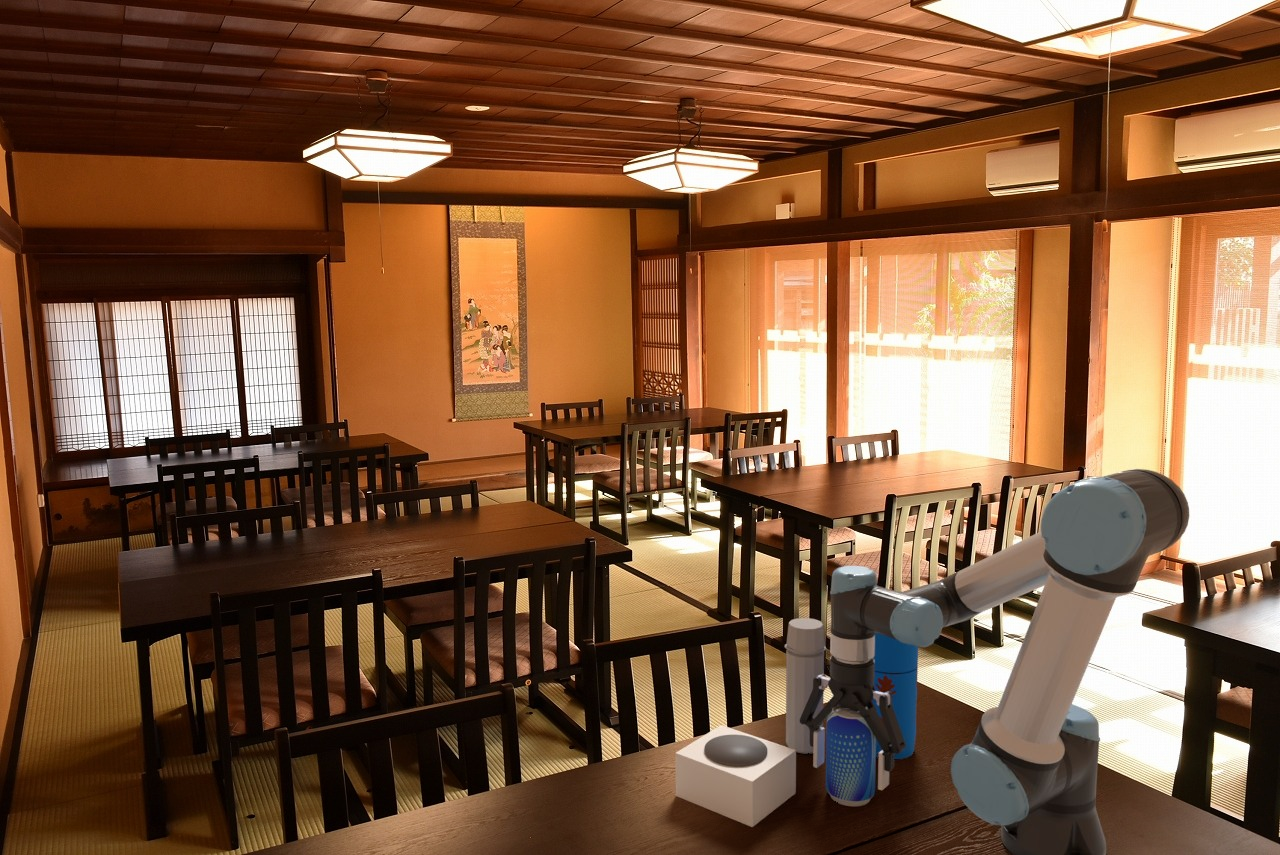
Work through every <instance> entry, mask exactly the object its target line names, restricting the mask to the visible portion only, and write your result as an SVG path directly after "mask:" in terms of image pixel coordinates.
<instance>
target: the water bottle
mask: <svg viewBox="0 0 1280 855" xmlns="http://www.w3.org/2000/svg"><path fill="white" fill-rule="evenodd" d="M824 629H825V628H824V624H823V622H822V621H821V620H818V619H815V618H809V617H801V618H794V619H791V620H790V621H789V622H788V627H787V636H786V644H784V648H785V649H786V651H785V653H786V654H785V655H786V656H785V658H786V659H785V660H786V662H785V668H786V671H785V672H786V675H785V677H786V678H785V680H786V683H785V692H786V693H785V744H786V745H787V747H788V748H791V749H794V750H796V753H800V754H804V755H805V754H806V755H807V754H808V753H809V754H813V747H812V746H810V743H809V742H810V730H809V728H808V726H806V725H805V724H804V725H803V724H801V723H800V717H801V715H802V713H803V711H804V708H805V706H806V704H807V701H808V699H809V697H810V694H811V692H812V690H813V679H814V678H815V677H817V676H818V675H820V674H825V673H824V672H825V670H824V669H825V664H824V663H825V651H826V650H827V647H826V642H825V631H824ZM824 693H825V691H824V692H823V695H822V697H821V699H820V701H819V704H818V706H817V708H816V710H815V713H814V715H813V717H812V718H815V717H816V716H817V715H818V714H819V713H820V711H821V710H822V709H823V708H824ZM820 727H823V728H824V722H823V723H822V725H820V726H819V728H820ZM809 754H808V755H809Z"/></svg>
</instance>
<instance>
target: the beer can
mask: <svg viewBox="0 0 1280 855" xmlns="http://www.w3.org/2000/svg"><path fill="white" fill-rule="evenodd" d="M865 708H866V710H867V709H868V708H867V706H866V707H865ZM825 734H826V735H825V738H826V740H825V744H826V746H825V748H826V750H825V752H826V753H825V759H826V760H825V789H826V791H827V793H828V794H829V795H830V798H831V799H832V800H833V801H834V802H835V801H836V803H837V802H838V804H839V805H842V806H846V807H861V806H865V805H867V804H868V803H869V802H870V801H871V799H872V798H873V797H874V795H875V794H876V760H877V758H876V738H875V736H874V734H873V732H872V731H871V729H870V727H869V725H868V724H867V722H866V720H865V718H863V717H862V716H861V715H860V713H859V711H858V712H855V711H852V710H851V709H849V708H841V706H840V705H839V704H838V705H837V706H835V707H834V708H832V712H831V713H830V714H829V716H828V717H827V718H826V731H825Z"/></svg>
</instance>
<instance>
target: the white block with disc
mask: <svg viewBox="0 0 1280 855" xmlns="http://www.w3.org/2000/svg"><path fill="white" fill-rule="evenodd" d="M796 781H797V752H796V750H794V749H791V748H789V747H788V746H785V745H782V744H780V743H779V744H778V743H777V742H772V741H769V740H767V739H764V738H762V737H758V736H755V735H752V734H750V733H746V732H743V731H740V730H737V729H734V728H732V727H728V726H725V725H722V724H721V725H719V726H717V727H716V728H714V729H712V730H710V731H709V732H707V733H706V734H704V735H702V736H701V737H699V738H697V739H696V740H694V741H693V742H691V743H690V744H688V745H686V746H684V747H683V748H681V749H680V750H677V751H676V752H675V796H676V797H678V798H680V799H683V800H685V801H687V802H689V803H692V804H695V805H697V806H700V807H702V808H704V809H706V810H710V811H712V812H715V813H716V814H719V815H721V816H724V817H726V818H729V819H731V820H734V821H735V822H739V823H741V824H743V825H746V826H748V827H751V828H753V827H755V826H756V825H757V824H759V823H760V822H761V821H762V820H763V819H765V818H766V817H767V816H769V814H771V813H772V812H774V810H776V809H777V808H779V807H780V806H782V804H784V803H785V802H786V801H787V800H788V799H790V798H792V796H794V795H796V792H797V790H796V789H797V788H796V787H797V782H796Z"/></svg>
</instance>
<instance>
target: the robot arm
mask: <svg viewBox="0 0 1280 855" xmlns="http://www.w3.org/2000/svg"><path fill="white" fill-rule="evenodd" d="M1189 520H1190V507H1189V502H1188V499H1187V497H1186V495H1185V493H1184V492H1183V490H1182V488H1180V486H1179V485H1177V483H1176V482H1174V481H1173V480H1172V479H1171V478H1170V477H1168V476H1166V475H1164V474H1162V473H1160V472H1157V471H1154V470H1150V469H1144V468H1136V469H1127V470H1123V471H1120V472H1116V473H1111V474H1107V475H1103V476H1092V477H1091V476H1090V477H1086V478H1083V479H1080V480H1077V481H1075V482H1073V483H1071V484H1069V485H1067V486H1065V487H1064V488H1062V489H1060V490H1059V491H1057V492H1056V493H1055V494H1054V495H1053V496H1052V497H1051V498H1050V499H1049V501H1048V502H1047V504H1046V505H1045V509H1044V510H1043V513H1042V515H1041V521H1040V522H1041V523H1040V531H1039V532H1037V533H1034V534H1033V535H1031V536H1029V537H1026V538H1024V539H1022V540H1021V541H1019V542H1016V543H1014V544H1012V545H1010V546H1008V547H1006V548H1003V549H1001V550H1000V551H998V552H996V553H994V554H992V555H990V556H988V557H985V558H984V559H981V560H979V561H977V562H975V563H973V564H971V565H969V566H967V567H965V568H963V569H961V570H959V571H957V572H955V573H952V574H950V575H948V576H946V577H944V578H942V579H940V580H937V581H933V582H931V583H927V584H924V585H921V586H917V587H913V588H911V589H907V590H903V591H897V590H893V589H888V588H885V587H883V586H880V585H877V584H878V579H877V574H876V572H875V570H873V569H872V568H870V567H867V566H861V565H844V566H839V567H837V568H835V569H834V570H833V572H832V575H831V587H830V591H829V594H830V638H829V640H830V642H829V643H830V644H829V645H830V646H829V653H830V657H829V676H830V677H827V676H826V674H825V673H824V674H820V675H818V676H817V677H815V678H814V679H813V690H812V692H811V694H810V697H809V699H808V701H807V704H806V706H805V708H804V711H803V713H802V715H801V717H800V723H801V724H803V725H804V724H805V725H806V726H808V728H809V730H810V742H809V743H810V746H812V747H813V753H812V754H813V755H812V756H813V757H812V758H813V759H812V763H813V764H812V766H813V768H816V769H818V768H819V767H820V766H821V765H823V764H824V763H825V754H826V753H825V752H826V750H825V748H826V746H825V744H826V740H825V738H826V735H825V734H826V727H824V726H823V727H820V728H819V726H820V725H822V723H823V724H824V722H825V721H826V720H827V718H828V716H829V714H830V713H831V712H832V708H834V707H835V706H837V705H838V704H839V705H840V706H841V708H849V709H851V710H852V711H855V712H858V711H859V713H860V715H861V716H862V717H863V718H865V720H866V722H867V724H868V725H869V727H870V729H871V731H872V732H873V734H874V736H875V738H876V739H877V741H878V743H879V745H880V747H881V748H882V751H880V752H879V758H878V764H877V765H878V768H877V769H878V770H877V771H878V772H877V790H879V791H883V790H884V789H885V788H887V787H888V786H889V785H890V772H891V771H892V770H893V769H894V767H895V760H894V757H895V753H896V754H899V753H900V752H901V751H903V750H904V749H905V748H906V744H905V741H904V738H903V735H902V732H901V729H900V726H899V723H898V720H897V717H896V714H895V712H894V709H893V706H892V693H891V692H889V691H887V692H885V693H883V692H878V691H876V690H875V688H874V675H875V660H874V659H873V657H874V655H875V632H876V633H879V634H882V635H884V636H887V637H890V638H893V639H895V640H898V641H900V642H902V643H906V644H908V645H915V646H918V648H920V647H921V648H926V647H929V646H932V645H933V644H934V642H935V640H937V639H939V637H940V636H941V633H942V629H943V628H946V627H949V626H952V625H956V624H958V623H963V622H966V621H968V620H971V619H973V618H974V617H976V616H978V615H979V614H981V613H983V612H985V611H988V610H990V609H993V608H995V607H997V606H999V605H1002V604H1004V603H1006V602H1009V601H1011V600H1013V599H1016V598H1018V597H1021V596H1023V595H1026V594H1027V593H1030V592H1032V591H1034V590H1037V589H1040V588H1041V587H1043V589H1042V591H1041V594H1040V597H1039V599H1038V602H1037V604H1036V606H1035V609H1034V612H1033V616H1032V617H1031V620H1030V622H1029V625H1028V627H1027V630H1026V632H1025V636H1024V638H1023V641H1022V644H1021V645H1020V649H1019V651H1018V653H1017V655H1016V659H1015V662H1014V664H1013V667H1012V669H1011V672H1010V675H1009V678H1008V680H1007V682H1006V685H1005V687H1004V690H1003V693H1002V695H1001V698H1000V701H999V703H998V706H996V707H992V708H991V707H990V708H988V709H987V710H986V711H985V712H984V713H983V714H982V716H981V718H980V721H979V724H978V725H977V730H976V732H975V734H974V737H973V739H972V741H971V742H970V743H968V744H964V745H963V746H961V748H959V749H958V750H957V751H956V752H955V754H954V755H953V756H952V759H951V763H950V775H951V779H952V783H953V786H954V788H955V789H956V790H957V794H958V796H959V799H961V801H962V802H963V804H964V805H965V806H966V807H967V808H968V809H969V811H971V812H972V813H973V814H974V815H976V816H977V817H978V818H979V819H981V820H983V821H985V822H987V823H989V824H991V825H995V826H1000V827H1001V830H1000V833H1001V834H1000V839H1001V842H1002V844H1003V845H1004V847H1005V848H1006V849H1007V850H1008V851H1009V852H1010V853H1011V854H1012V855H1107V840H1106V837H1105V835H1104V831H1103V828H1102V825H1101V822H1100V819H1099V815H1098V811H1097V808H1096V802H1097V801H1096V798H1097V784H1098V783H1097V782H1098V766H1099V765H1098V764H1099V763H1098V762H1099V750H1100V748H1099V747H1100V742H1101V738H1100V731H1099V730H1100V726H1099V725H1100V724H1099V721H1098V719H1097V718H1096V716H1094V714H1092V712H1090V711H1088V710H1087V709H1084V708H1083V707H1081V706H1077V705H1075V704H1073V702H1074V699H1075V697H1076V695H1077V692H1078V690H1079V687H1080V686H1081V683H1082V680H1083V678H1084V676H1085V673H1086V670H1087V668H1088V666H1089V664H1090V661H1091V659H1092V657H1093V654H1094V651H1095V649H1096V647H1097V645H1098V642H1099V640H1100V637H1101V635H1102V632H1103V630H1104V627H1105V625H1106V624H1107V620H1108V619H1109V616H1110V613H1111V612H1112V609H1113V606H1114V604H1115V601H1116V599H1117V598H1118V597H1123V596H1126V595H1129V594H1132V593H1133V591H1134V590H1135V588H1136V585H1137V583H1138V581H1139V578H1140V576H1141V573H1142V571H1143V569H1144V568H1145V564H1146V562H1147V560H1148V558H1149V557H1150V556H1153V555H1155V554H1157V553H1158V554H1159V553H1160V552H1163V551H1165V550H1167V549H1169V548H1171V547H1172V546H1173V545H1175V544H1176V543H1178V541H1179V540H1180V539H1181V538H1182V537H1183V535H1184V534H1185V533H1186V530H1187V527H1188V525H1189ZM827 688H829V690H830V692H831V694H832V697H831V698H830V699H829V700H828V702H827V703H826V704H825V705H824V706H823V709H822V710H821V711H820V713H819V714H818V715H817V716H816V717H815V718H812V717H813V715H814V713H815V710H816V708H817V706H818V704H819V701H820V699H821V697H822V695H823V696H824V694H823V692H824V693H825V690H826V689H827ZM873 699H876V701H877V705H878V706H879V708H880V712H881V716H882V718H883V721H884V724H885V726H884V724H883V722H882V720H881V719H880V717H879V715H878V713H877V712H876V707H875V705H874V703H873V701H872V700H873ZM866 706H867V708H868V709H867V710H866V708H865V707H866Z"/></svg>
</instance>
